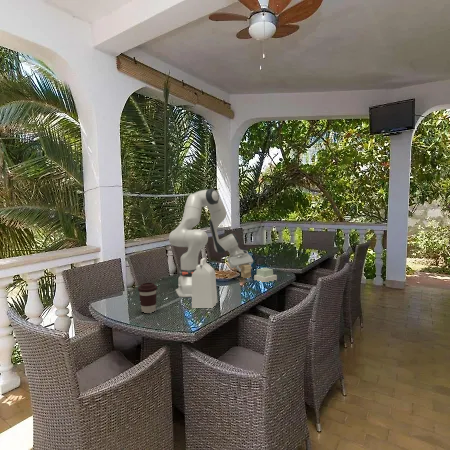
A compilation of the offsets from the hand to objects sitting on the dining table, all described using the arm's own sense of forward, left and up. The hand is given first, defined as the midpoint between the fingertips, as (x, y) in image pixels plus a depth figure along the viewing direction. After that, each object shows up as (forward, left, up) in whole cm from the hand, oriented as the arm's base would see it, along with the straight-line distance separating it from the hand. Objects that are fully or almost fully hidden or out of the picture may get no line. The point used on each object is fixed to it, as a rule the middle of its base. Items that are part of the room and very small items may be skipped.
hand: (245, 270), depth 254 cm
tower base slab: (-10, -12, -6) cm, 17 cm away
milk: (-57, +32, -6) cm, 66 cm away
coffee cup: (-62, +62, -6) cm, 88 cm away
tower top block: (-10, -12, -2) cm, 15 cm away
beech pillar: (0, 0, -6) cm, 6 cm away
